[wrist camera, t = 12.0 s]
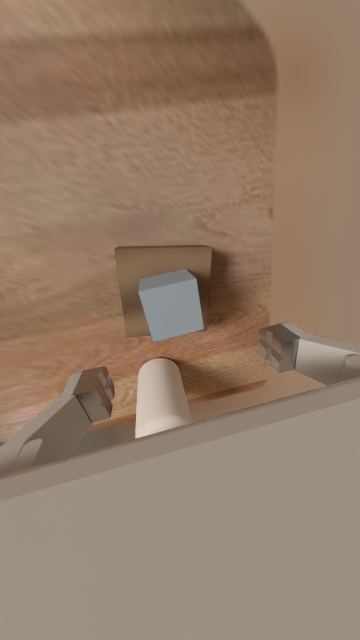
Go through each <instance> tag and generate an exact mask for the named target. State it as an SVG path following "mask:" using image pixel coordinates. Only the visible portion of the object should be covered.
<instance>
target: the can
mask: <svg viewBox="0 0 360 640" xmlns="http://www.w3.org/2000/svg"><path fill="white" fill-rule="evenodd" d="M190 423H192V420H191V416H190V411H189V407H188V403H187V399H186V395H185V391H184V387H183V383H182V379H181V375H180V372H179V368H178V366H177V365H176V364H175V363H174V362H173V361H171V360H169V359H165V358H157V359H153V360H150V361H148V362H147V363H145V364H144V365H143V366H142V367H141V369H140V371H139V375H138V390H137V410H136V434H135V435H136V436H135V437H136V438H139V437H143V436H147V435H150V434H154V433H158V432H161V431H165V430H168V429H172V428H176V427H179V426H183V425H186V424H190Z"/></svg>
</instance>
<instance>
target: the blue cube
mask: <svg viewBox="0 0 360 640" xmlns="http://www.w3.org/2000/svg"><path fill="white" fill-rule="evenodd" d="M138 293H139V296H140V299H141V303H142V306H143V309H144V313H145V316H146V319H147V323H148V326H149V330H150V333H151V336H152V340H153V342H155V341H159V340H163V339H167V338H171V337H175V336H179V335H183V334H187V333H191V332H195V331H199V330H203V329H204V326H203V319H202V313H201V306H200V299H199V293H198V286H197V280H196V278H195V277H194V276H193V275H192V274H191V273H190V272H188V271H187V270H186V269H182V270H178V271H173V272H169V273H164V274H160V275H156V276H151V277H147V278H142V279H140V283H139V290H138Z"/></svg>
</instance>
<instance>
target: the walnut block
mask: <svg viewBox="0 0 360 640" xmlns="http://www.w3.org/2000/svg"><path fill="white" fill-rule="evenodd" d="M114 250H115V257H116V264H117V271H118V278H119V286H120V293H121V300H122V307H123V314H124V321H125V328H126V336H127V337H137V336H149V335H151V333H150V330H149V326H148V323H147V319H146V316H145V313H144V309H143V306H142V303H141V299H140V296H139V293H138V290H139V283H140V279H142V278H147V277H151V276H156V275H160V274H164V273H169V272H173V271H178V270H182V269H186V270H187V271H188V272H190V273H191V274H192V275H193V276H194V277H195V278H196V280H197V286H198V293H199V299H200V306H201V313H202V319H203V326H204V329H203V330H199V331H207V325H208V308H209V291H210V274H211V258H212V247H210V246H205V245H181V246H119V247H117V248H115V249H114ZM195 332H197V331H195Z"/></svg>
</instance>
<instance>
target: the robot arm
mask: <svg viewBox="0 0 360 640" xmlns="http://www.w3.org/2000/svg"><path fill="white" fill-rule="evenodd" d="M259 336H260V337H261V338H262V339H261V340H260V342H259V349H260V353H261V354H262V356H263V357H264V358H265V359H266V360H269V361H271V363H270V365H271V366H272V367H273V368H274V369H275V370H276V371H277V372H278V373H281V372H285V371H289V370H294V369H295V370H296V371H298V372H300V373H302V374H304V375H306V376H308V377H310V378H313V379H315V380H317V381H319V382H321V383H323V384H325V385H327V386H324V387H320V388H317V389H313V390H310V391H306V392H303V393H299V394H295V395H292V396H288V397H284V398H281V399H277V400H274V401H270V402H266V403H263V404H259V405H255V406H251V407H248V408H244V409H241V410H237V411H233V412H230V413H226V414H223V415H219V416H215V417H212V418H208V419H204V420H201V421H198V422H194V423H190V424H186V425H183V426H179V427H176V428H172V429H168V430H165V431H161V432H158V433H154V434H150V435H147V436H143V437H139V438H136V439H132V440H129V441H125V442H121V443H118V444H114V445H111V446H107V447H103V448H100V449H96V450H93V451H89V452H85V453H82V454H78V455H74V456H71V457H69V456H70V454H71V453H72V452H73V450H74V449H75V447H76V446H77V445H78V443H79V442H80V440H81V439H82V438H83V436H84V435H85V433H86V432H87V431H88V429H89V428H90V426H91V425H92V423H94V422H97V421H100V420H104V419H107V418H111V412H112V407H113V405H112V403H111V401H112V400H113V398H114V395H115V389H114V384H113V381H112V379H111V378H109V377H108V373H109V372H108V370H107V368H106V367H105V366H102V367H98V368H93V369H89V370H84V371H80V372H76V373H73V374H72V375H71V376H70V378H69V380H68V382H67V384H66V386H65V388H64V390H63V392H62V394H61V396H60V398H59V399H57V400H55V401H54V402H53V403H52V404H50V405H49V406H48V407H47V408H46V409H45V410H43V411H42V412H41V413H40V414H39V415H37V416H36V417H35V418H34V419H33V420H32V421H30V422H29V423H28V424H27V425H26V426H25V427H23V428H22V429H21V430H20V431H19V432H18V433H16V434H15V435H14V436H13V437H12V438H11V439H9V440H8V441H7V442H6V443H5V444H4V445H2V446H1V447H0V640H360V345H359V344H355V343H350V342H346V341H341V340H336V339H332V338H327V337H323V336H318V335H310V334H309V333H307V332H306V331H304V330H302V329H301V328H299V327H298V326H296V325H294V324H293V323H291V322H288V321H286V322H283V323H279V324H276V325H273V326H268V327H265V328H261V329H260V331H259Z"/></svg>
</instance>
